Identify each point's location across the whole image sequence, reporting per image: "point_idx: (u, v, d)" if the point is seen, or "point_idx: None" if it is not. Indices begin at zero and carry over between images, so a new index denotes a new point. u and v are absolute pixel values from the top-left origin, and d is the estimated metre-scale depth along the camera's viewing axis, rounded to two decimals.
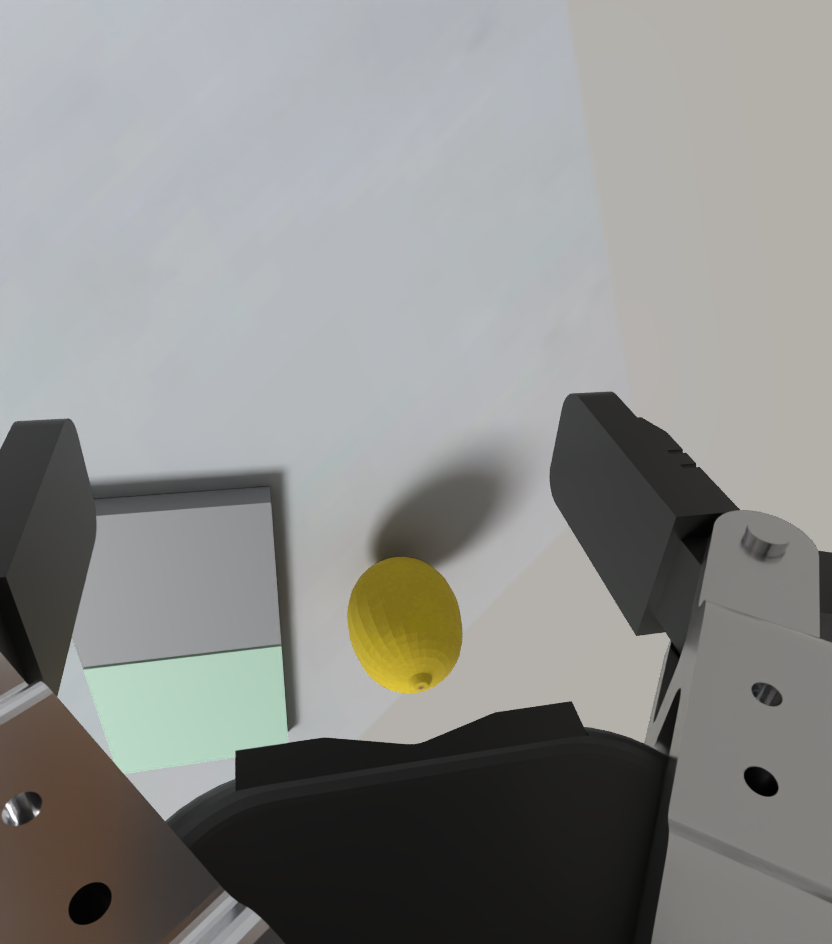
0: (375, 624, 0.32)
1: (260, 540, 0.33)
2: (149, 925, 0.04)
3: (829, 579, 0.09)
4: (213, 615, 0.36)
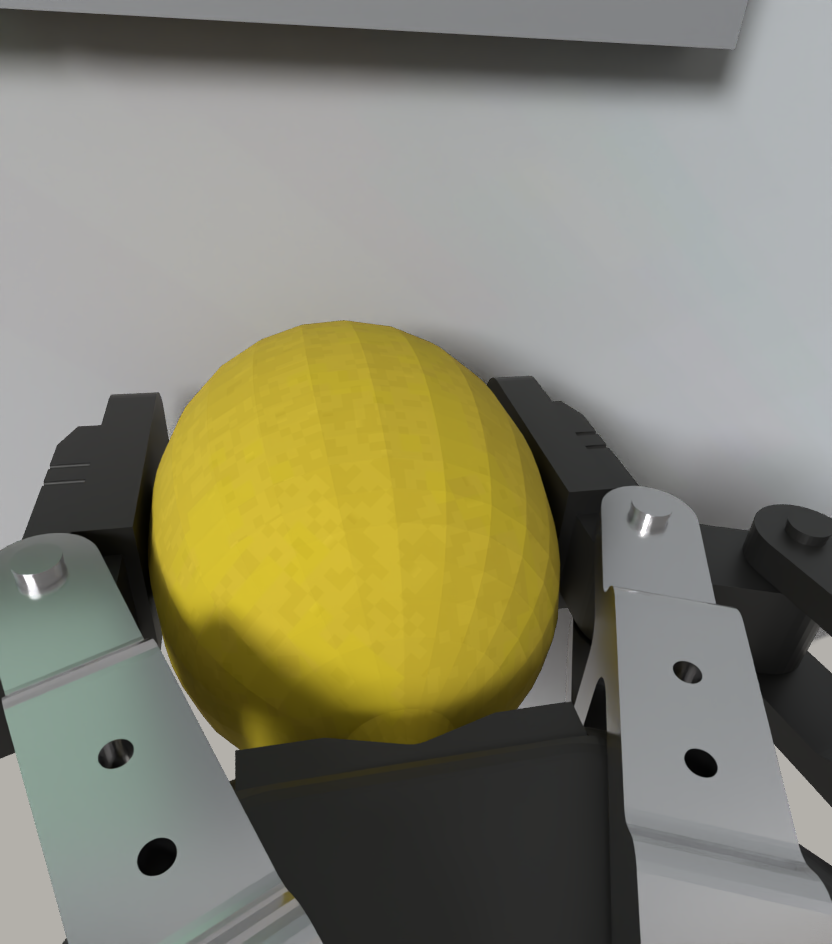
0: (525, 484, 0.08)
1: None
2: (204, 892, 0.04)
3: (714, 551, 0.09)
4: None
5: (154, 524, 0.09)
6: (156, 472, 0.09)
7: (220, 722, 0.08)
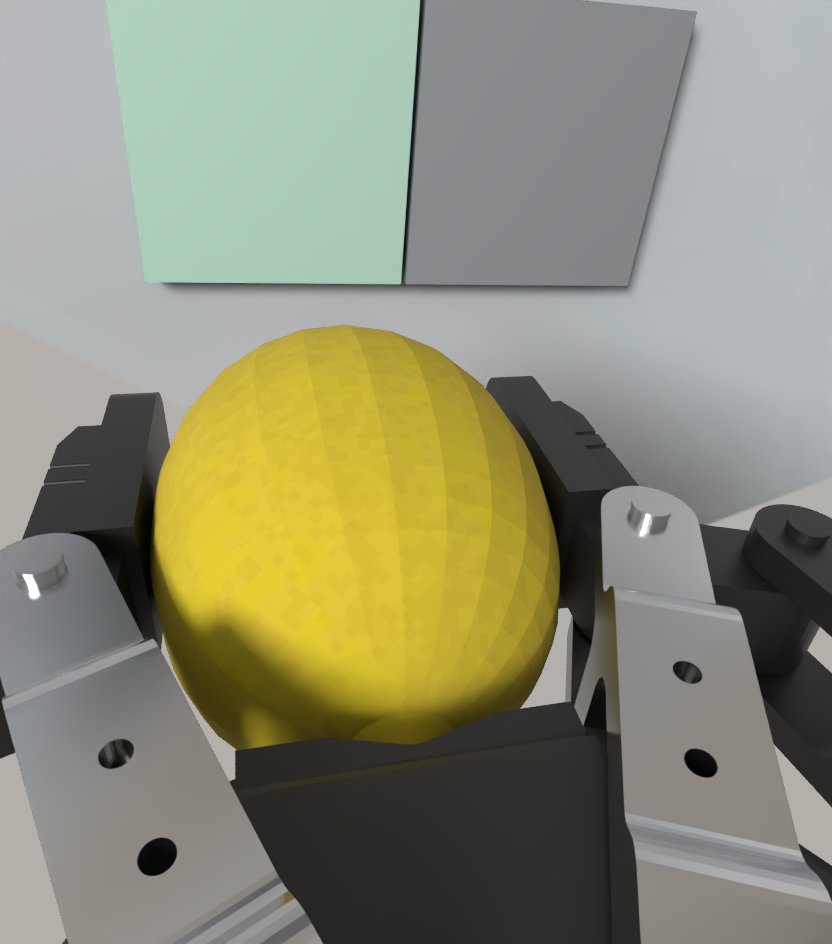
0: (525, 489, 0.08)
1: (581, 271, 0.30)
2: (205, 892, 0.04)
3: (714, 552, 0.09)
4: (481, 203, 0.27)
5: (156, 529, 0.09)
6: (158, 477, 0.09)
7: (222, 726, 0.08)
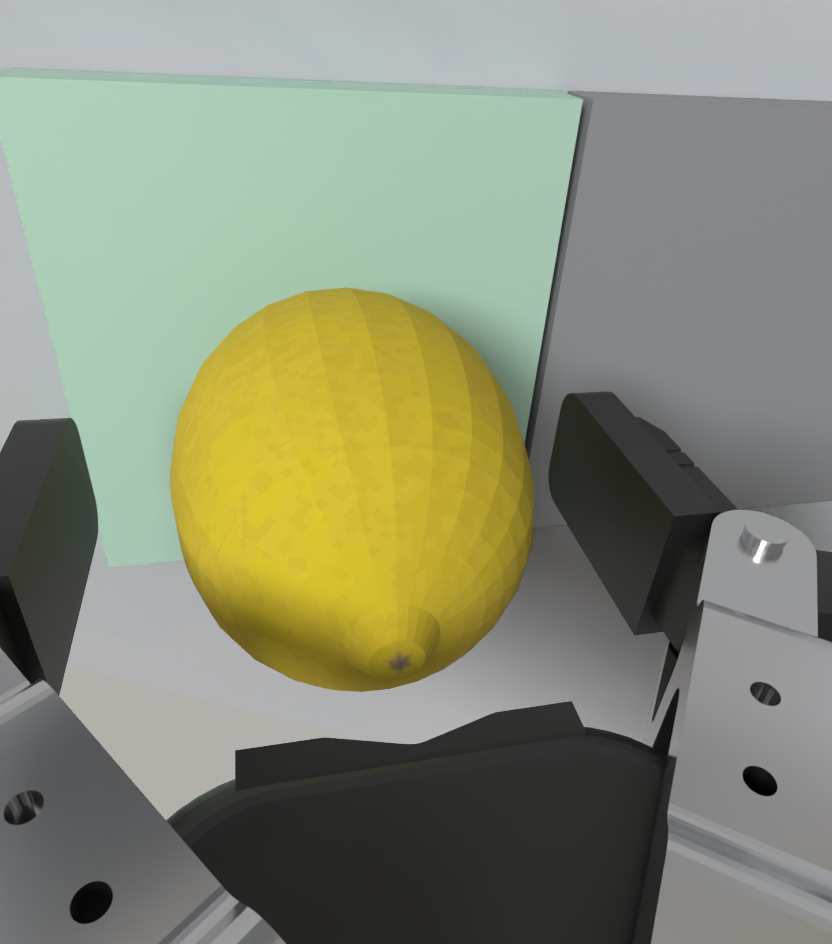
0: (502, 423, 0.10)
1: (777, 488, 0.20)
2: (150, 924, 0.04)
3: (827, 578, 0.09)
4: (643, 415, 0.17)
5: (178, 459, 0.10)
6: None
7: (237, 624, 0.09)
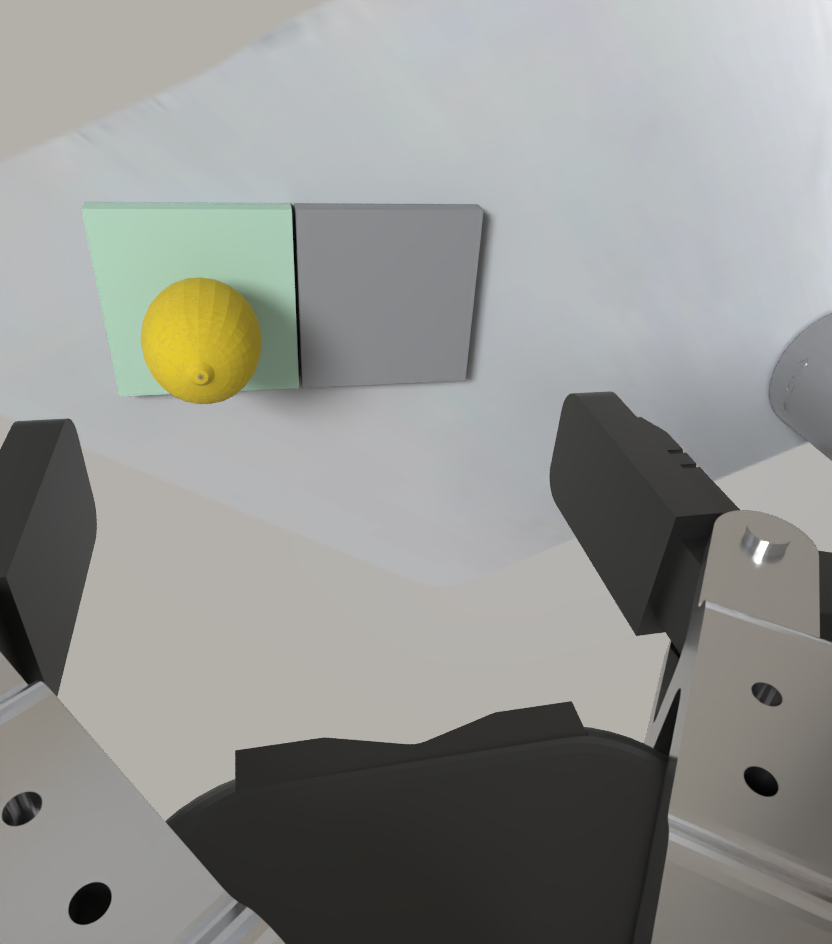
0: (239, 317, 0.32)
1: (429, 372, 0.42)
2: (149, 925, 0.04)
3: (829, 579, 0.09)
4: (350, 334, 0.40)
5: (142, 328, 0.32)
6: (143, 319, 0.33)
7: (158, 372, 0.31)
